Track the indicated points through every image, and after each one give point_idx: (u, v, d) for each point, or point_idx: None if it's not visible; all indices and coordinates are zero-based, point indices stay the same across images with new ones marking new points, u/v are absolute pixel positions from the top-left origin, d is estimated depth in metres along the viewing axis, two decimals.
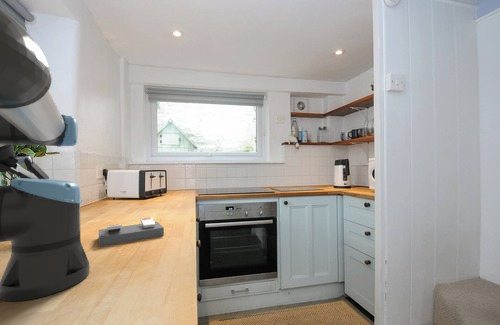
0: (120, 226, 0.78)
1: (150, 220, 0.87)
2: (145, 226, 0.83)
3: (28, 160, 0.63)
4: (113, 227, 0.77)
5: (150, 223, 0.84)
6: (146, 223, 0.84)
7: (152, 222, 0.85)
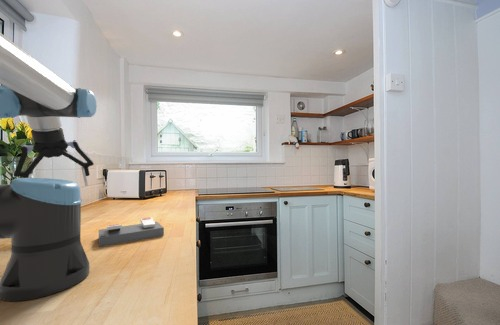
0: (120, 226, 0.78)
1: (150, 220, 0.87)
2: (145, 226, 0.83)
3: (76, 143, 0.75)
4: (113, 227, 0.77)
5: (150, 223, 0.84)
6: (146, 223, 0.84)
7: (152, 222, 0.85)
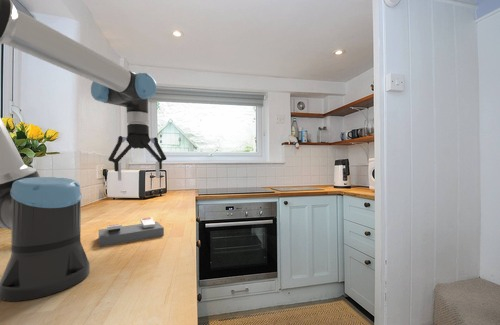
0: (120, 226, 0.78)
1: (150, 220, 0.87)
2: (145, 226, 0.83)
3: (156, 138, 0.91)
4: (113, 227, 0.77)
5: (150, 223, 0.84)
6: (146, 223, 0.84)
7: (152, 222, 0.85)
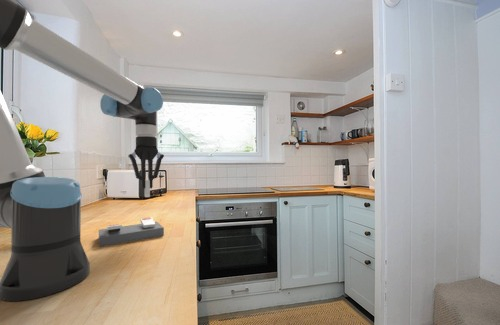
0: (120, 226, 0.78)
1: (150, 220, 0.87)
2: (145, 226, 0.83)
3: (163, 156, 0.91)
4: (113, 227, 0.77)
5: (150, 223, 0.84)
6: (146, 223, 0.84)
7: (152, 222, 0.85)
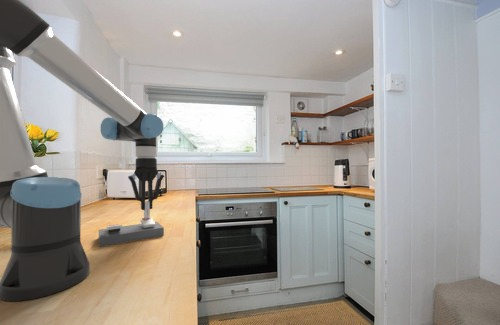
0: (120, 226, 0.78)
1: (150, 220, 0.87)
2: (145, 226, 0.83)
3: (163, 176, 0.91)
4: (113, 227, 0.77)
5: (150, 223, 0.84)
6: (146, 223, 0.84)
7: (152, 222, 0.85)
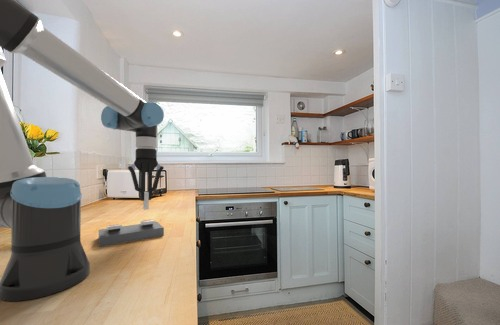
0: (120, 226, 0.78)
1: (150, 220, 0.87)
2: (145, 223, 0.83)
3: (163, 167, 0.91)
4: (113, 227, 0.77)
5: (150, 221, 0.84)
6: (146, 221, 0.84)
7: (152, 220, 0.85)
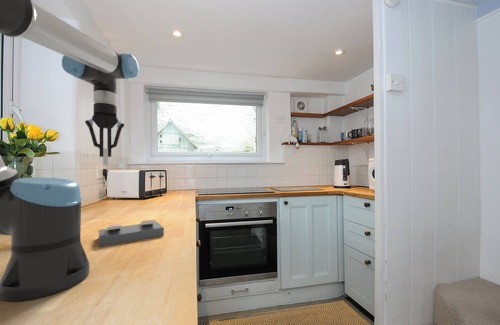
0: (120, 226, 0.78)
1: (150, 220, 0.87)
2: (145, 222, 0.83)
3: (123, 125, 0.90)
4: (113, 227, 0.77)
5: (150, 220, 0.85)
6: None
7: (152, 220, 0.86)
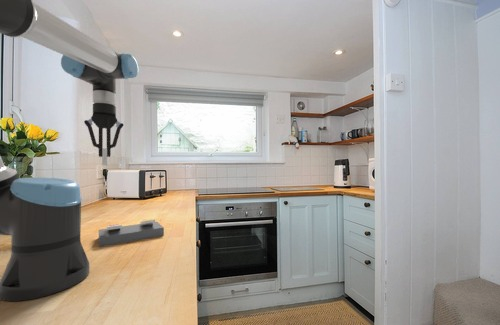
0: (120, 226, 0.78)
1: None
2: (145, 222, 0.83)
3: (122, 125, 0.90)
4: (113, 227, 0.77)
5: (150, 220, 0.85)
6: None
7: (152, 220, 0.86)
